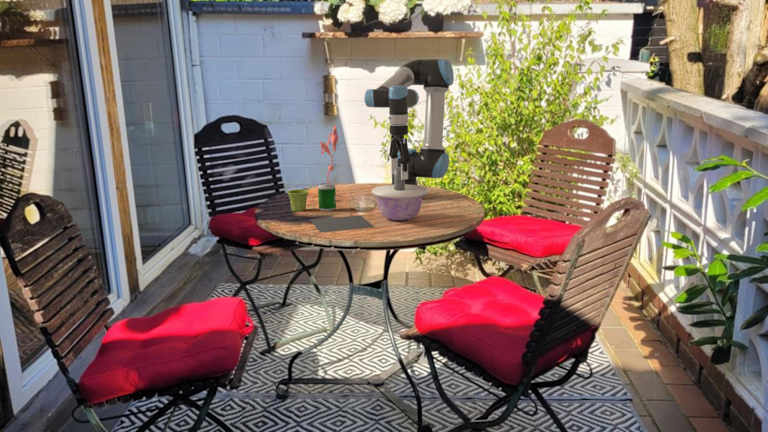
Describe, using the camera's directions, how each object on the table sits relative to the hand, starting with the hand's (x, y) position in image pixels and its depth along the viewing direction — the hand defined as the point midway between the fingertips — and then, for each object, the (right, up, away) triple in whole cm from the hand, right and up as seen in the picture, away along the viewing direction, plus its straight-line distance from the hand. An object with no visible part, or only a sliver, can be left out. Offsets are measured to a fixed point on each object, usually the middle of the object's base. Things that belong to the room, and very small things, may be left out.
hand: (399, 176), depth 292 cm
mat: (-24, -20, -3) cm, 31 cm away
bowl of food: (0, -18, +4) cm, 18 cm away
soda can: (-31, -14, +23) cm, 41 cm away
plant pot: (-44, -14, +24) cm, 52 cm away
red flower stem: (-28, -8, +48) cm, 56 cm away
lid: (0, -6, +2) cm, 7 cm away
